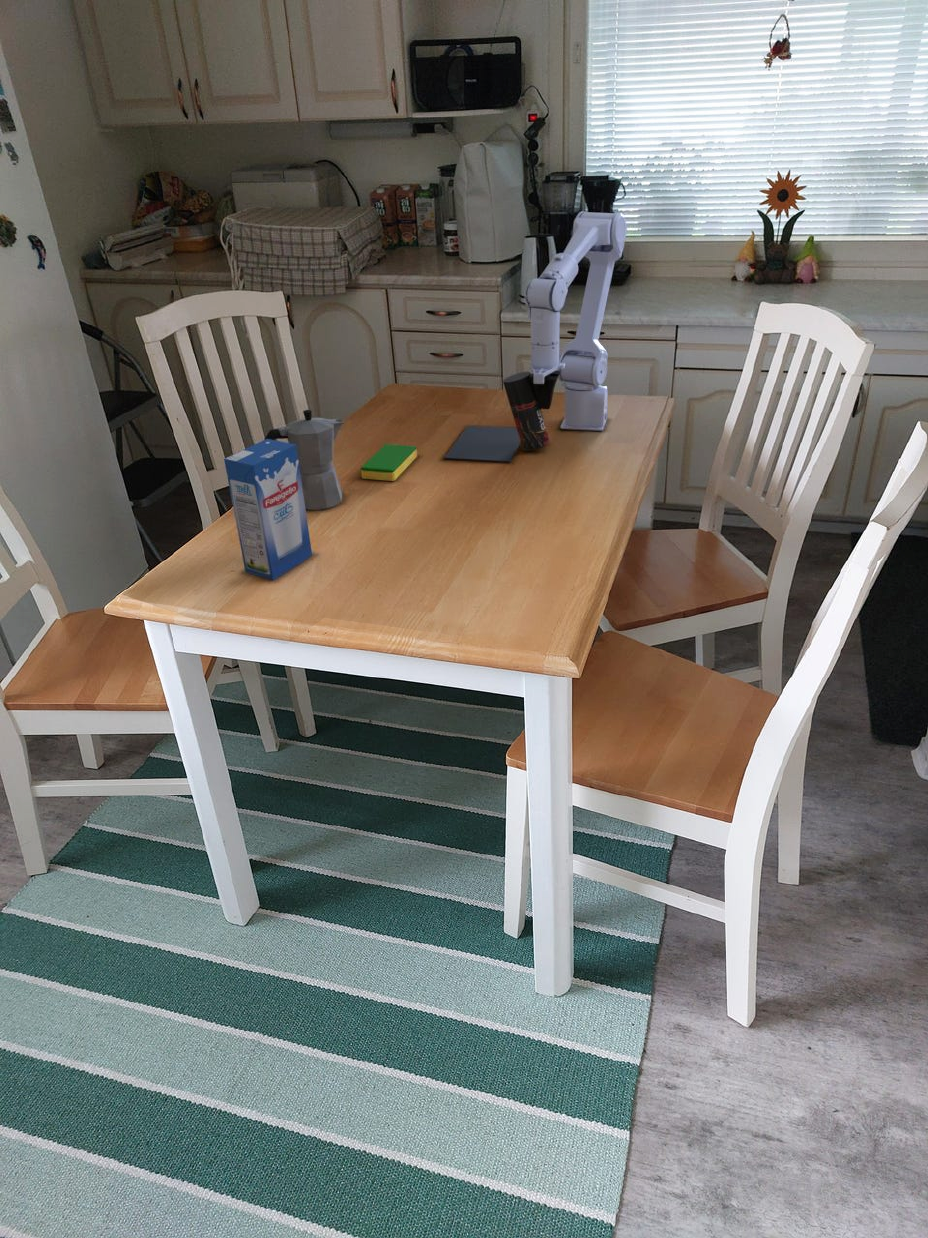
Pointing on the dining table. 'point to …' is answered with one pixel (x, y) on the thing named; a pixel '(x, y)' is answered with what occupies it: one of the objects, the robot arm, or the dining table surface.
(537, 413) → the deodorant
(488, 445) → the mat
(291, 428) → the coffeepot
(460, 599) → the dining table surface
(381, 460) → the dish sponge
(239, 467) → the milk carton
